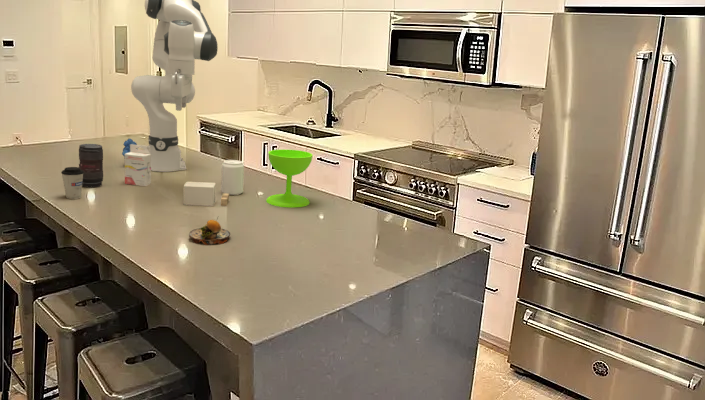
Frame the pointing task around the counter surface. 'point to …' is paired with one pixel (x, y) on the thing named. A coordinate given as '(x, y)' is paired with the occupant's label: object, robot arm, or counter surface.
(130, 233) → the counter surface
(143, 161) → the ink cartridge box
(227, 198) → the oak stop strip
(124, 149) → the grapes
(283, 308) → the counter surface
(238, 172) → the beverage can
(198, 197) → the matte white cuboid
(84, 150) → the camera lens
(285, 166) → the wineglass
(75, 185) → the coffee cup
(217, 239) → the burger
